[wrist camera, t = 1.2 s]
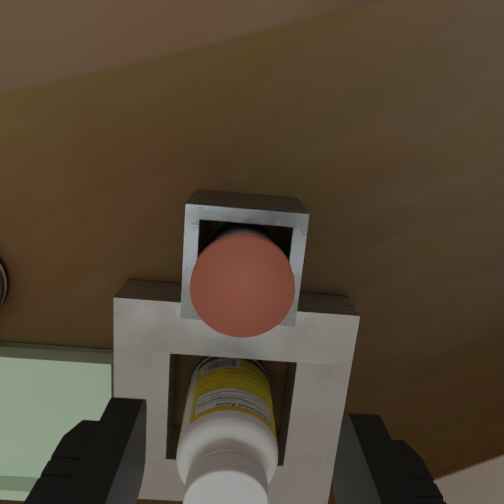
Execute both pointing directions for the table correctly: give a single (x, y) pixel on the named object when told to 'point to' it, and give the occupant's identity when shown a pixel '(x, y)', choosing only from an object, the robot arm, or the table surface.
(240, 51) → the table surface
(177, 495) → the housing
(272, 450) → the supplement bottle
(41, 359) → the tray
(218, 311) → the plunger
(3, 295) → the supplement bottle
